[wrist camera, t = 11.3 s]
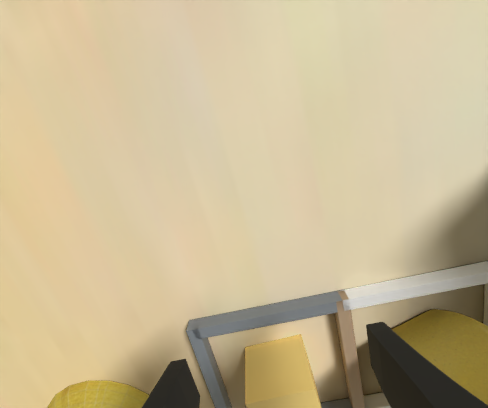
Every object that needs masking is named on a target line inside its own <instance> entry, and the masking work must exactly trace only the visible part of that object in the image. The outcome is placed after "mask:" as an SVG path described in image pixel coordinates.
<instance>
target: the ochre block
mask: <svg viewBox="0 0 488 408" xmlns="http://www.w3.org/2000/svg"><path fill="white" fill-rule="evenodd" d="M245 405H246V407H247V408H322V407H321V403H320V399H319V396H318V392H317V388H316V384H315V381H314V377H313V374H312V370H311V367H310V363H309V360H308V357H307V353H306V350H305V346H304V343H303V340H302V336H301V334H299V335H295V336H291V337H287V338H282V339H278V340H274V341H270V342H265V343H261V344H257V345H253V346H249V347H245Z"/></svg>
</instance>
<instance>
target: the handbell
mask: <svg viewBox="0 0 488 408" xmlns="http://www.w3.org/2000/svg"><path fill="white" fill-rule="evenodd" d="M148 397H149V395H148V394H146V393H144V392H142V391H140V390H138V389H136V388H134V387H132V386H130V385H126V384H122V383H117V382H113V381H85V382H82V383H78V384H74V385H70V386H68V387H67V388H65V389H64V390H62V391H61V392H59V393H58V394H56V395H55V397H54V398H53V400H52V401H51V402H50V404H49V405H48V408H142V406H143V405H144V403H145V402H146V400H147V399H148Z"/></svg>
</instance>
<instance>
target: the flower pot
mask: <svg viewBox="0 0 488 408" xmlns="http://www.w3.org/2000/svg"><path fill="white" fill-rule="evenodd" d="M392 330H393V331H394V332H395V333H396V334H397V335H399V336H400V337H401V338H402V339H403V340H404V341H405V342H407V343H408V344H409V345H410V346H411V347H412V348H414V349H415V350H416V351H417V352H418V353H420V354H421V355H422V356H423V357H424V358H426V359H427V360H428V361H429V362H431V363H432V364H433V365H434V366H436V367H437V368H438V369H439V370H441V371H442V372H443V373H445V374H446V375H447V376H448V377H450V378H451V379H452V380H454V381H455V382H456V383H458V384H459V385H460V386H462V387H463V388H465V389H466V390H467V391H469V392H470V393H471V394H473V395H474V396H476V397H477V398H478V399H480V400H481V401H483V402H484V403H486V404H487V405H488V326H487V325H485V324H483V323H481V322H479V321H477V320H475V319H473V318H471V317H468V316H465V315H462V314H459V313H456V312H452V311H447V310H438V309H432V310H429V311H427V312H425V313H423V314H421V315H419V316H417V317H415V318H414V319H412V320H410V321H408V322H406V323H404V324H402V325H400V326H398V327H395V328H393V329H392Z"/></svg>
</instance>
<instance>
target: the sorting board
mask: <svg viewBox="0 0 488 408" xmlns="http://www.w3.org/2000/svg"><path fill="white" fill-rule="evenodd" d="M482 284H485V290H484V320H483V324H485V325H487V326H488V261H485V262H480V263H475V264H470V265H465V266H460V267H455V268H450V269H445V270H440V271H435V272H430V273H425V274H419V275H414V276H409V277H404V278H399V279H394V280H389V281H384V282H379V283H374V284H369V285H364V286H359V287H354V288H349V289H344V290H339V291H334V292H329V293H324V294H319V295H314V296H309V297H304V298H299V299H294V300H289V301H284V302H279V303H274V304H269V305H264V306H259V307H254V308H249V309H244V310H239V311H234V312H229V313H224V314H219V315H214V316H209V317H204V318H199V319H194V320H189V323H188V327H187V330H186V332H187V334H188V337H189V340H190V342H191V345H192V348H193V350H194V353H195V356H196V358H197V361H198V363H199V366H200V369H201V371H202V374H203V377H204V379H205V382H206V385H207V387H208V390H209V393H210V395H211V398H212V400H213V403H214V406H215V408H232V406H231V403H230V400H229V397H228V394H227V392H226V389H225V386H224V383H223V380H222V377H221V375H220V372H219V369H218V366H217V363H216V360H215V357H214V355H213V352H212V349H211V346H210V343H209V340H208V338H207V337H212V336H218V335H223V334H228V333H233V332H238V331H243V330H249V329H254V328H259V327H264V326H269V325H275V324H280V323H285V322H290V321H295V320H300V319H306V318H311V317H316V316H321V315H326V314H331V313H335V317H336V323H337V329H338V335H339V341H340V347H341V353H342V359H343V365H344V371H345V377H346V383H347V389H348V395H349V398H347V399H341V400H335V401H329V402H323V403H321V407H322V408H391V406H390V405H389V403H388V401H387V399H386V397H385V395H384V393H377V394H371V395H365V396H363V391H362V384H361V377H360V370H359V363H358V356H357V350H356V343H355V336H354V329H353V322H352V315H351V310H352V309H357V308H362V307H368V306H373V305H378V304H383V303H388V302H394V301H399V300H404V299H409V298H414V297H419V296H425V295H430V294H435V293H440V292H445V291H450V290H456V289H461V288H466V287H471V286H476V285H482Z"/></svg>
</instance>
